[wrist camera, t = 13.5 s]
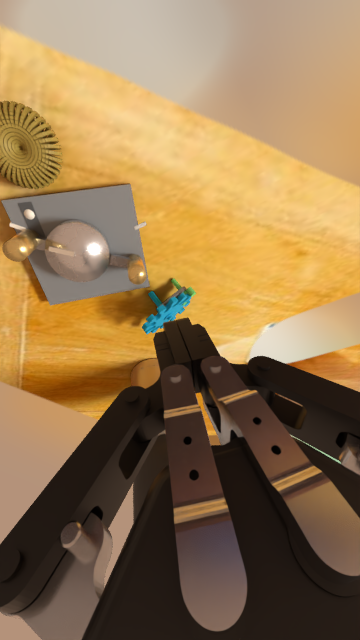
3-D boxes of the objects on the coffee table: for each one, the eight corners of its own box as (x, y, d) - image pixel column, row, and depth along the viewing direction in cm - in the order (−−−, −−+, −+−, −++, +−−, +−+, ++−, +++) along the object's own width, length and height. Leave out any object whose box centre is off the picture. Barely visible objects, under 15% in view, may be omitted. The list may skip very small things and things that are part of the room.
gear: (155, 338, 45) (139, 334, 36) (137, 315, 46) (117, 305, 37) (200, 302, 45) (196, 288, 35) (181, 280, 46) (172, 260, 36)
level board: (155, 281, 41) (156, 285, 40) (49, 301, 38) (47, 305, 37) (138, 182, 33) (139, 183, 31) (2, 199, 30) (-3, 201, 29)
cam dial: (148, 238, 35) (153, 249, 30) (136, 286, 39) (139, 303, 34) (20, 203, 29) (0, 210, 24) (20, 264, 33) (4, 281, 28)
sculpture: (63, 194, 28) (-16, 185, 26) (68, 191, 31) (-1, 183, 29) (52, 106, 24) (-42, 87, 22) (60, 113, 27) (-22, 98, 25)
